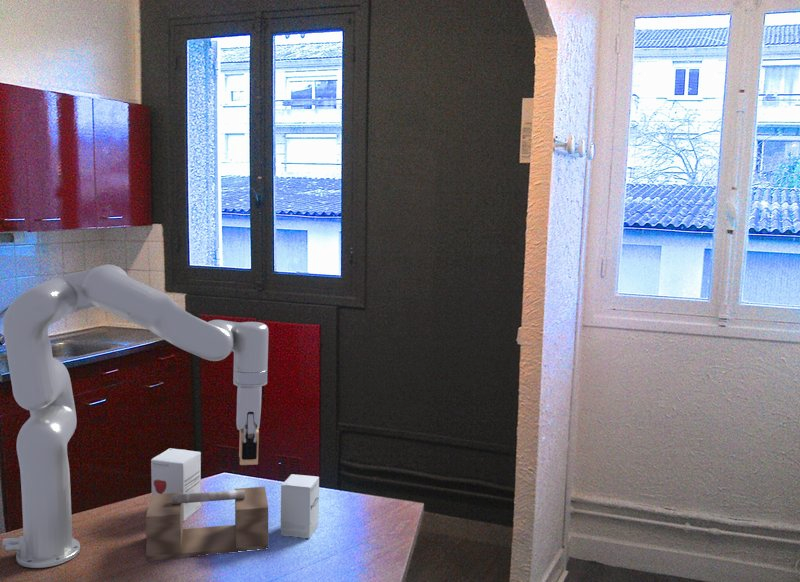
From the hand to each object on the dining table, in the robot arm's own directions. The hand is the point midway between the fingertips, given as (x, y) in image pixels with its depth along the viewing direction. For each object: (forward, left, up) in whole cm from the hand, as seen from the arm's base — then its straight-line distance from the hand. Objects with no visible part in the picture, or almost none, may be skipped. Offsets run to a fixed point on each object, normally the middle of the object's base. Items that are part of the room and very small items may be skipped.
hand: (248, 453), depth 167 cm
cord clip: (0, 0, -2) cm, 2 cm away
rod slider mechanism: (-9, 0, -21) cm, 23 cm away
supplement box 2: (+12, +2, -21) cm, 24 cm away
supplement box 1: (-17, +18, -21) cm, 32 cm away
